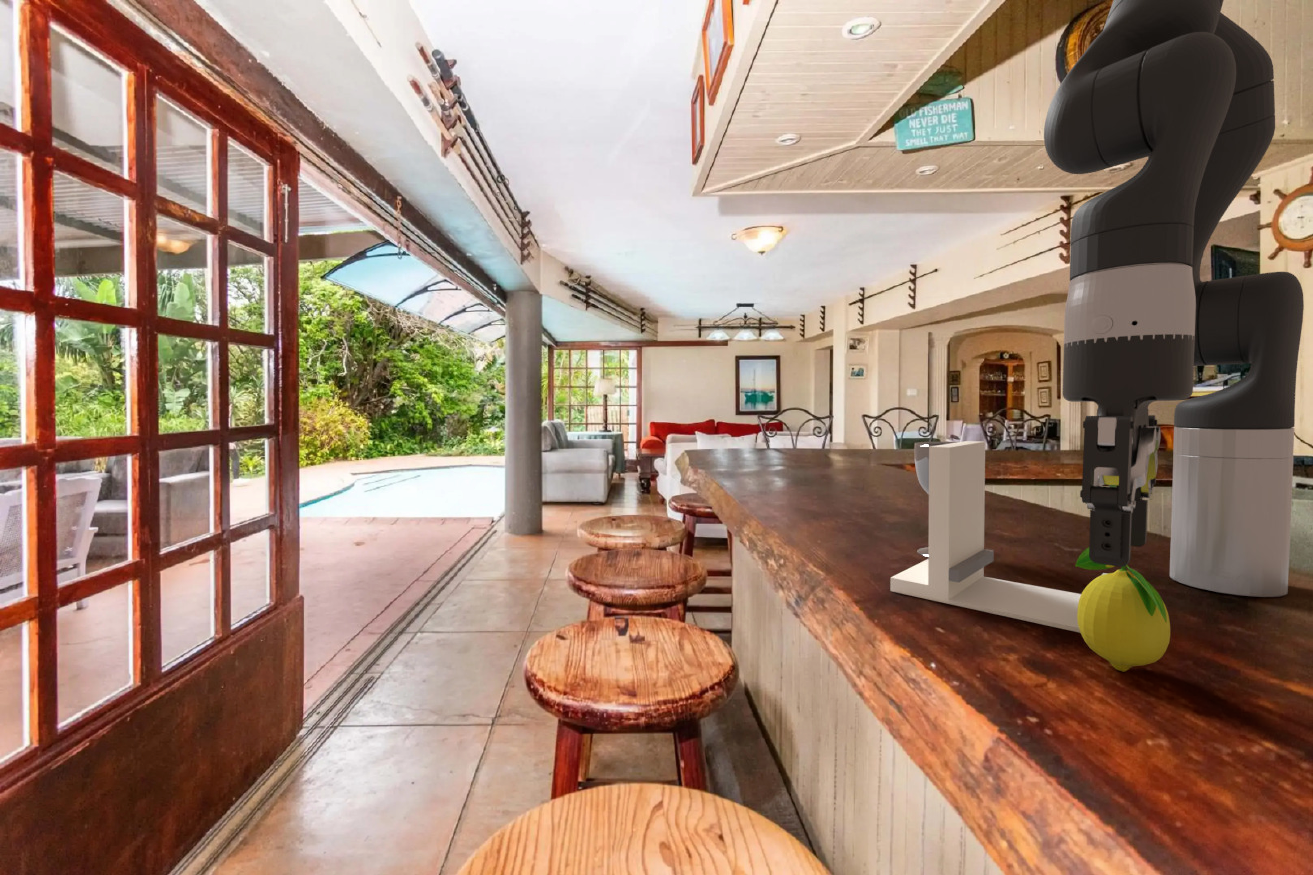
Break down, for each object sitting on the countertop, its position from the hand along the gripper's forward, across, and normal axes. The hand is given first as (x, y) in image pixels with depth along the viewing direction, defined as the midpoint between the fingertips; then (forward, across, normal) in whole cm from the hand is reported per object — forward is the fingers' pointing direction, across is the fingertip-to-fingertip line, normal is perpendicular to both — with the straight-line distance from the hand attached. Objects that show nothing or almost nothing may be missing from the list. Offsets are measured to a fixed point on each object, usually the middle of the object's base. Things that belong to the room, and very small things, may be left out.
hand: (1119, 553), depth 44 cm
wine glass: (+9, +27, +22) cm, 36 cm away
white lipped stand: (+9, +12, +11) cm, 19 cm away
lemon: (+9, 0, 0) cm, 9 cm away
